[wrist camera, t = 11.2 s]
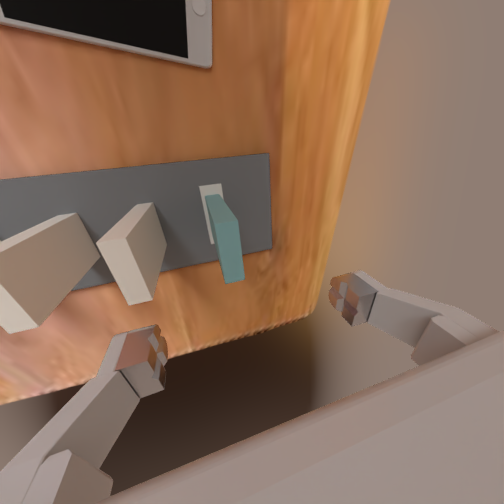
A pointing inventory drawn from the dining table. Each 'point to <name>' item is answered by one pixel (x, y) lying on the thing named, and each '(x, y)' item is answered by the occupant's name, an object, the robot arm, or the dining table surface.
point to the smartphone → (123, 25)
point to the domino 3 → (226, 238)
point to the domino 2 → (135, 252)
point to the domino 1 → (42, 270)
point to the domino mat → (145, 191)
